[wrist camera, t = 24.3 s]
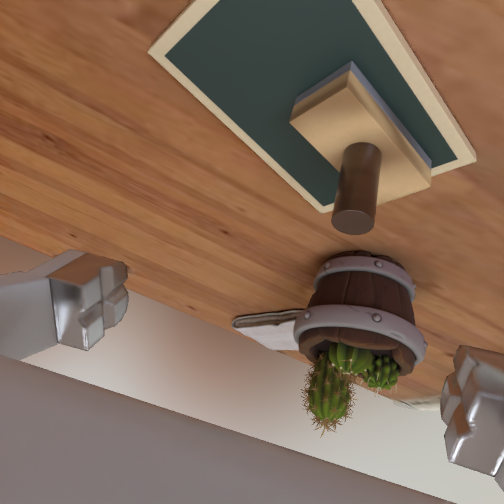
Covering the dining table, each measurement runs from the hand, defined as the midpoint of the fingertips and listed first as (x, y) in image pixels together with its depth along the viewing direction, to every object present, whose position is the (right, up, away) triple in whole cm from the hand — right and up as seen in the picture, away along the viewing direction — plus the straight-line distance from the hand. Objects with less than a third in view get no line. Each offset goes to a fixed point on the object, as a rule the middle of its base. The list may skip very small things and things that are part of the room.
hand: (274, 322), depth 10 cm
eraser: (+8, +11, +22) cm, 26 cm away
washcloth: (+6, -11, +64) cm, 66 cm away
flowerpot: (+14, -1, +42) cm, 44 cm away
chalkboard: (+5, +14, +22) cm, 26 cm away
